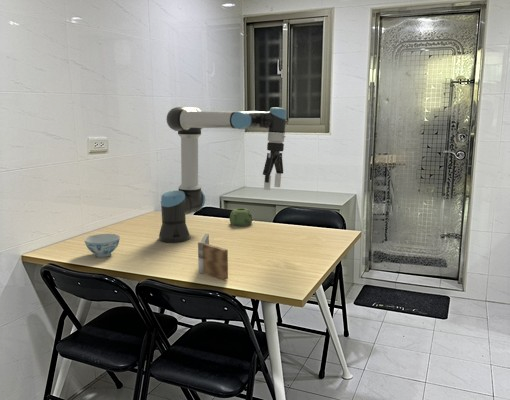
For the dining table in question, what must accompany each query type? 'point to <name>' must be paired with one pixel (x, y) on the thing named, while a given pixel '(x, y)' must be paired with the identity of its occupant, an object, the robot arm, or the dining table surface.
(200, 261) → the hinge panel
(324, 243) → the dining table surface
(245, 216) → the green round pot
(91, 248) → the chinaware
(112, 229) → the dining table surface
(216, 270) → the brown flat wooden board
